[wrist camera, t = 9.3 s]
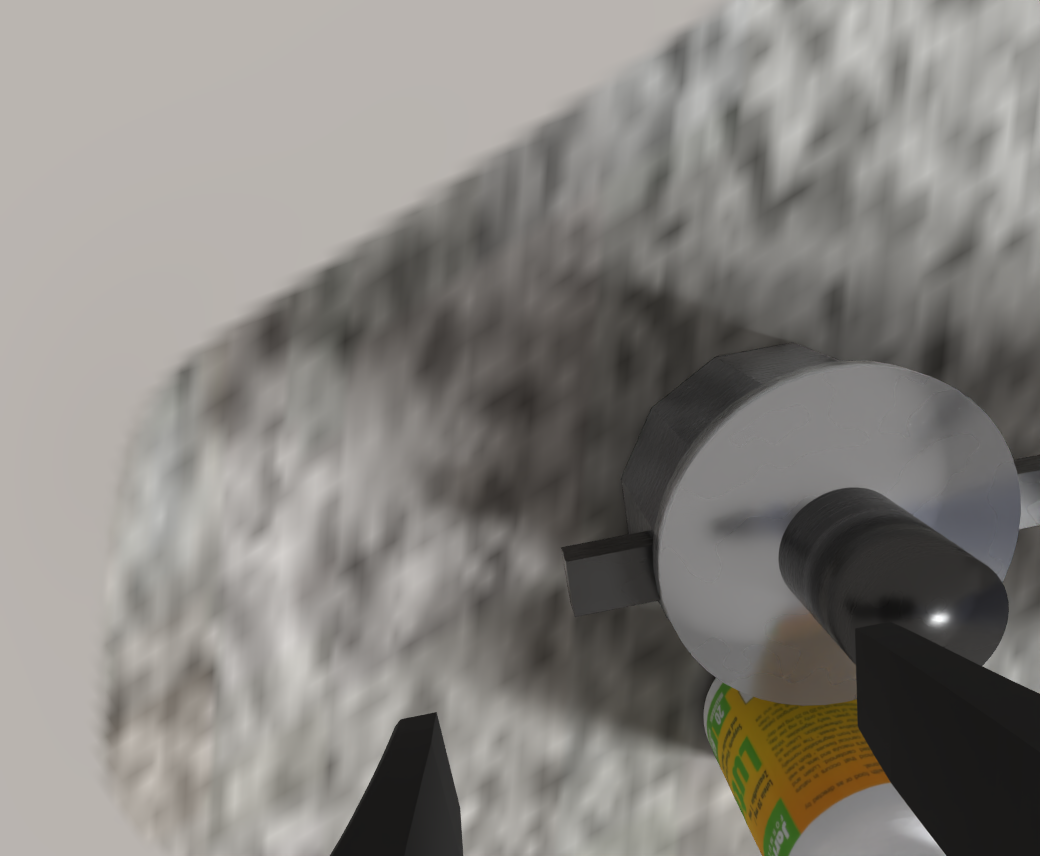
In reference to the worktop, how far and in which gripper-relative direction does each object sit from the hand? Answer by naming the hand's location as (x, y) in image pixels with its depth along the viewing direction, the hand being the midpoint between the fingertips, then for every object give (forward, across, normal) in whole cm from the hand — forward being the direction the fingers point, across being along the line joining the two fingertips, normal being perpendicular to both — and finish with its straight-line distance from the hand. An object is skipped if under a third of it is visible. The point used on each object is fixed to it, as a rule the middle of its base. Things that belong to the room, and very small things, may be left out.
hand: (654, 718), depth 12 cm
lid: (+6, -6, +1) cm, 8 cm away
